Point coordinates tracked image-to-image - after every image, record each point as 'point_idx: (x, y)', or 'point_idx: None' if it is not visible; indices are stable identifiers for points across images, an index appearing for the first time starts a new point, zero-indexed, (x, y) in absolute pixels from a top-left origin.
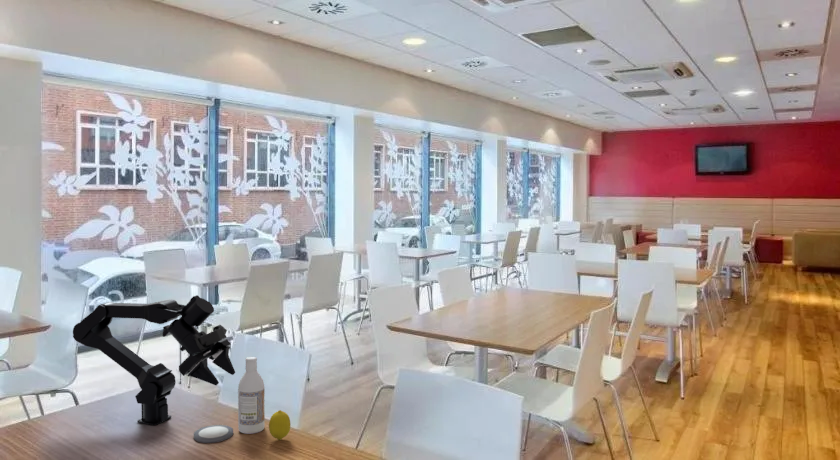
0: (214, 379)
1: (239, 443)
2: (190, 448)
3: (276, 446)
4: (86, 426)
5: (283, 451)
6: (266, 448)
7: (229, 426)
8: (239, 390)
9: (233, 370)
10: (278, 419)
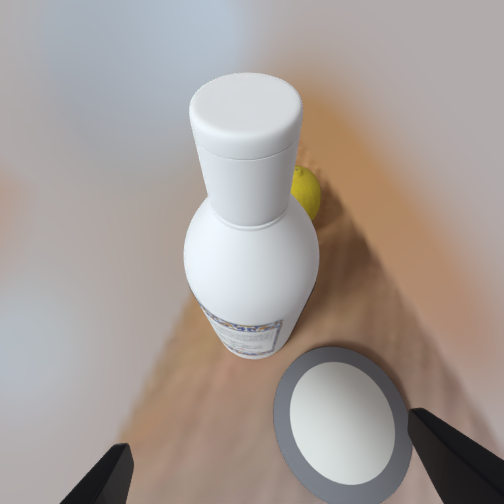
0: (470, 444)
1: (346, 299)
2: (456, 427)
3: (319, 216)
4: None
5: (333, 195)
6: (338, 229)
7: (277, 389)
8: (310, 292)
9: (114, 462)
10: (315, 176)
